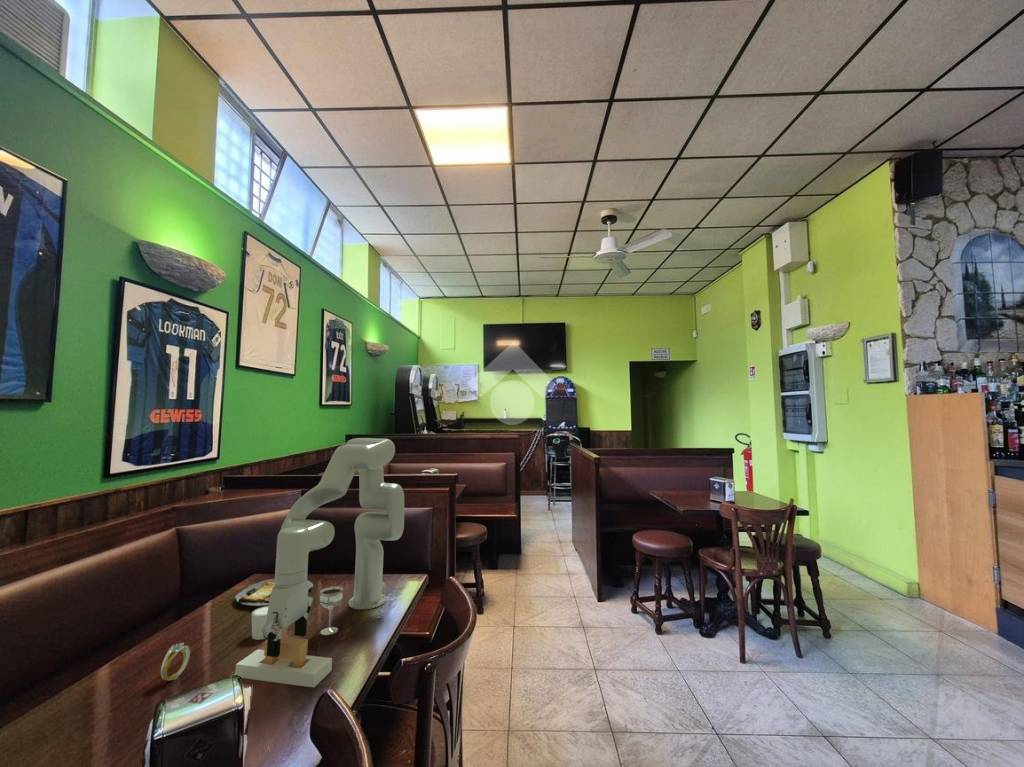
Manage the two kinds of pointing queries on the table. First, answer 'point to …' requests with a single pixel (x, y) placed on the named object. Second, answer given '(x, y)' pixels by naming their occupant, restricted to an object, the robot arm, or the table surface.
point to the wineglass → (330, 604)
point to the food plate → (258, 593)
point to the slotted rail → (284, 670)
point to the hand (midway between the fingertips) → (287, 645)
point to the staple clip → (290, 651)
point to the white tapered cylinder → (259, 622)
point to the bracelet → (176, 649)
